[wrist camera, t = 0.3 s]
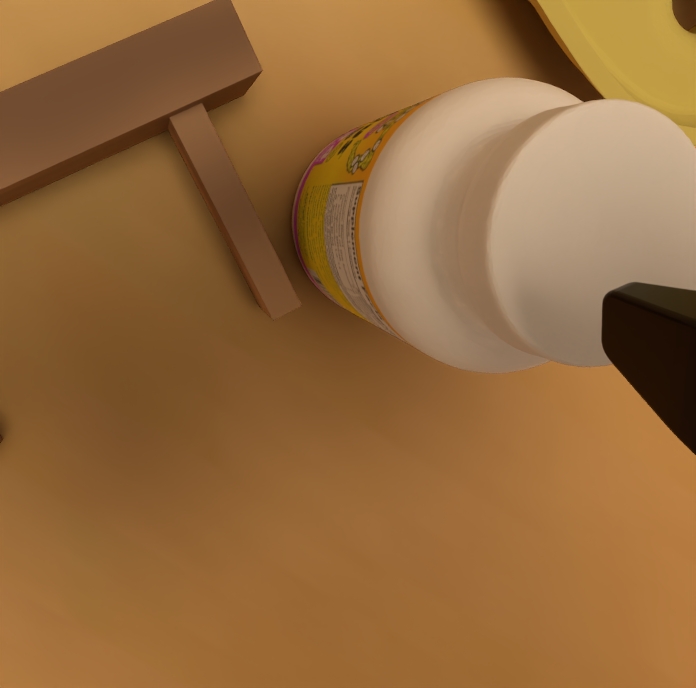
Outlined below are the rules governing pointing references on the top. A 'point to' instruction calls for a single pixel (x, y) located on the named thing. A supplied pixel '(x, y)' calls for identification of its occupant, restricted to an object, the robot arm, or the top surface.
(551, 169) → the supplement bottle
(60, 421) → the top surface
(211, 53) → the walnut holder rail
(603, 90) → the plastic component
